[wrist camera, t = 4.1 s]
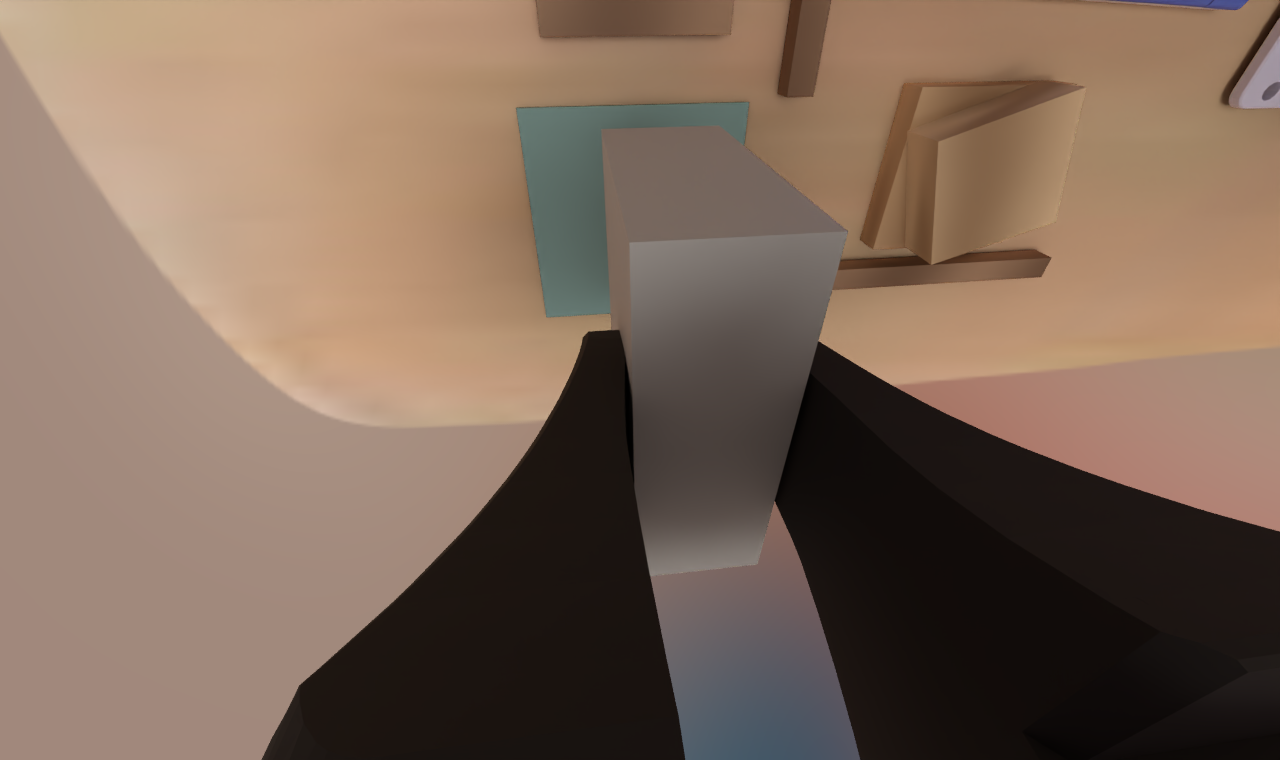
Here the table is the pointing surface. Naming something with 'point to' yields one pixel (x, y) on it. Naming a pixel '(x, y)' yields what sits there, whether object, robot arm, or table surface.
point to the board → (710, 332)
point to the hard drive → (1185, 3)
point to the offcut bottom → (912, 111)
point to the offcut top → (989, 170)
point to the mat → (589, 189)
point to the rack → (705, 7)
